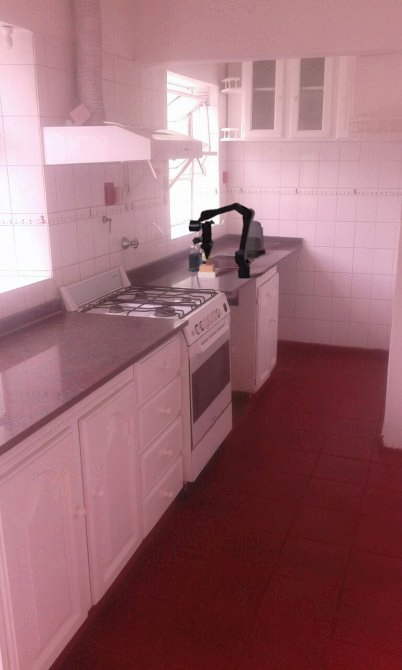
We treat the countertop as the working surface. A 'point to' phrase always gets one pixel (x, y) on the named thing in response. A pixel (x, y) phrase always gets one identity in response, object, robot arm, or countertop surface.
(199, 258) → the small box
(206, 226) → the robot arm
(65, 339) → the countertop surface
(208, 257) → the maple puck
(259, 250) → the juicer
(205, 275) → the tower base
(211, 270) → the tower top
